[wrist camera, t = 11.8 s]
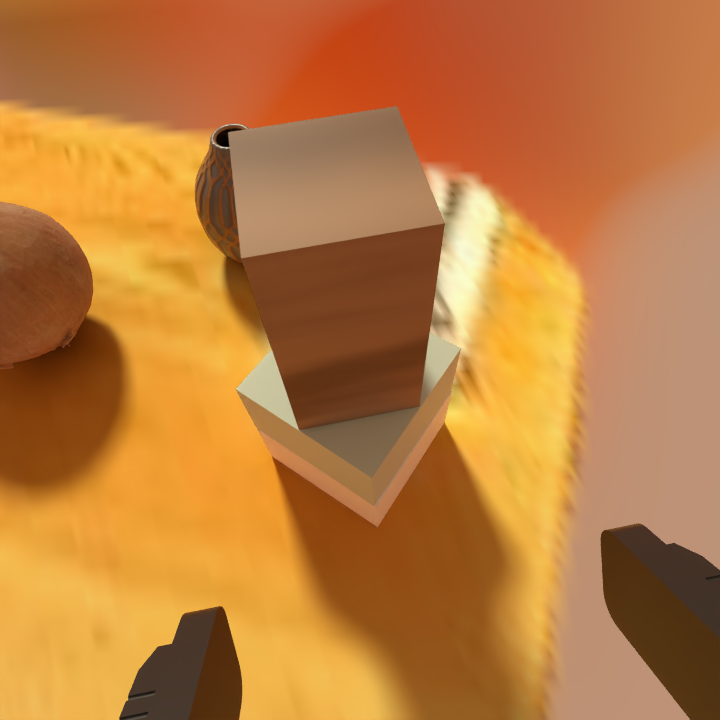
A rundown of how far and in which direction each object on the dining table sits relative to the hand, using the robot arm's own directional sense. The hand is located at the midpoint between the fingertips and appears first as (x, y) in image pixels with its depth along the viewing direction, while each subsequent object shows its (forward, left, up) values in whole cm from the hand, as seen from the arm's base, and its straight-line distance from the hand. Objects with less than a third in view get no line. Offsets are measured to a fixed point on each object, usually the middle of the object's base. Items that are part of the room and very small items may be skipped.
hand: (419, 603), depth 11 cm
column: (+5, +9, -7) cm, 13 cm away
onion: (-6, +28, -15) cm, 33 cm away
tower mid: (+5, +9, -11) cm, 15 cm away
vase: (+9, +25, -15) cm, 31 cm away
